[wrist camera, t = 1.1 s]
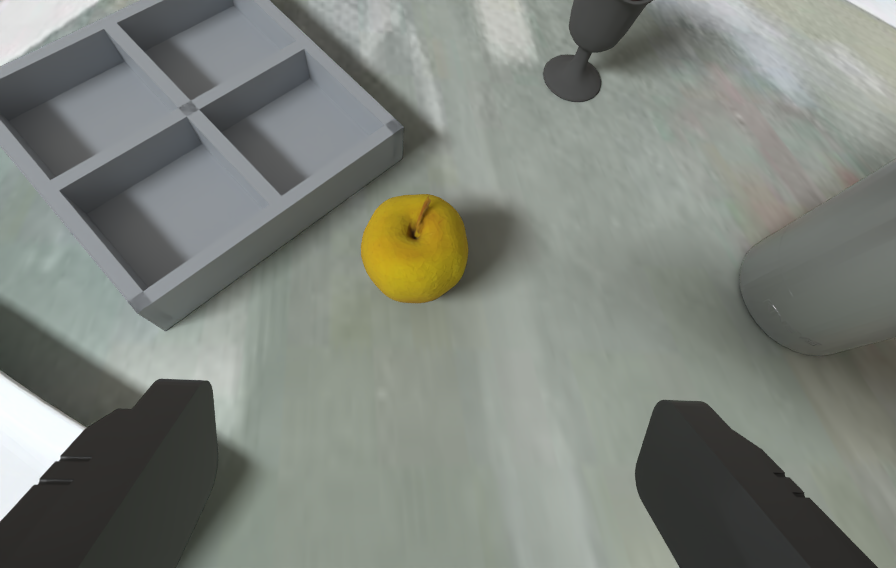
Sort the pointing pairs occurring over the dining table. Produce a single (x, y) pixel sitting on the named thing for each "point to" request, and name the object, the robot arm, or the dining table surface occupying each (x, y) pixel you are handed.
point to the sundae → (590, 45)
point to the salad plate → (28, 440)
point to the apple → (415, 248)
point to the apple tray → (189, 142)
